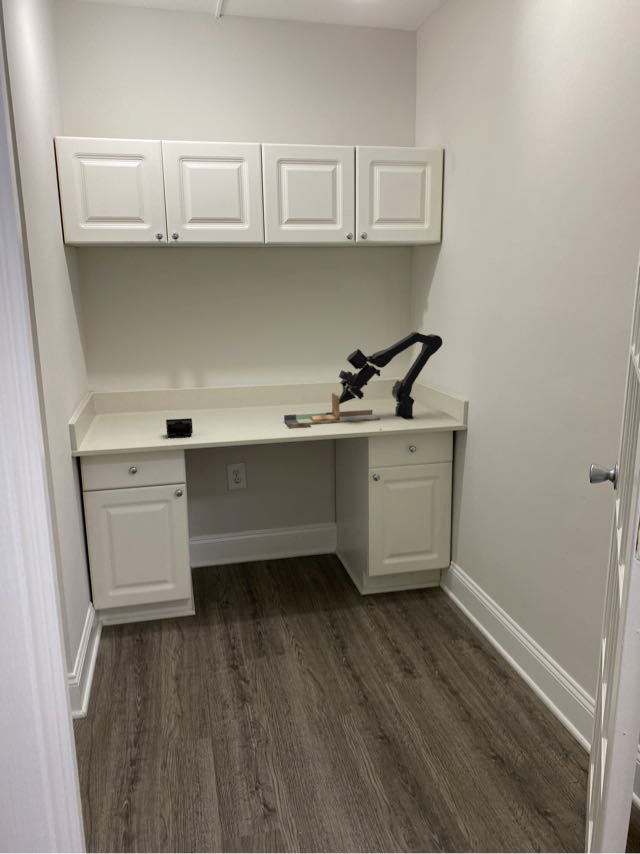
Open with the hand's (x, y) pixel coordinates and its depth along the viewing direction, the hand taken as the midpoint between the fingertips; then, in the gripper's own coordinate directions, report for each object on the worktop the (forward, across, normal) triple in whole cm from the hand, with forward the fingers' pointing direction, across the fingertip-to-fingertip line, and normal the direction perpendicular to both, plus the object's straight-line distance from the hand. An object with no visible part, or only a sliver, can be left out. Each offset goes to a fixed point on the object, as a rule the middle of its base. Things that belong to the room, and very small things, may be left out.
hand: (338, 403), depth 280 cm
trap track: (+8, 0, +4) cm, 8 cm away
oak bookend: (+9, 0, +1) cm, 9 cm away
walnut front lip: (+7, +6, +4) cm, 10 cm away
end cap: (+53, +6, -40) cm, 67 cm away
